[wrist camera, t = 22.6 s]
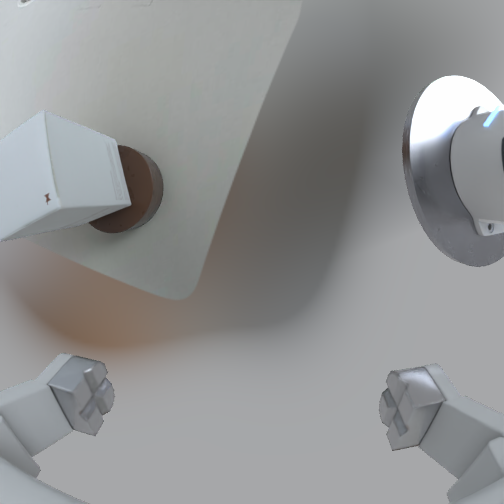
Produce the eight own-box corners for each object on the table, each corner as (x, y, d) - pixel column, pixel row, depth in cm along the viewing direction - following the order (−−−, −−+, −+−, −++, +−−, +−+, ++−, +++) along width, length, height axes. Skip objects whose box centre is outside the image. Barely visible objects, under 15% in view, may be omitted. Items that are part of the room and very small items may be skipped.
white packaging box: (117, 137, 26) (46, 104, 14) (133, 206, 27) (62, 211, 15) (61, 163, 26) (-19, 152, 14) (75, 228, 27) (-5, 245, 15)
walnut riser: (165, 149, 30) (155, 143, 26) (162, 230, 32) (151, 234, 28) (95, 153, 30) (79, 148, 26) (92, 228, 31) (76, 232, 27)
